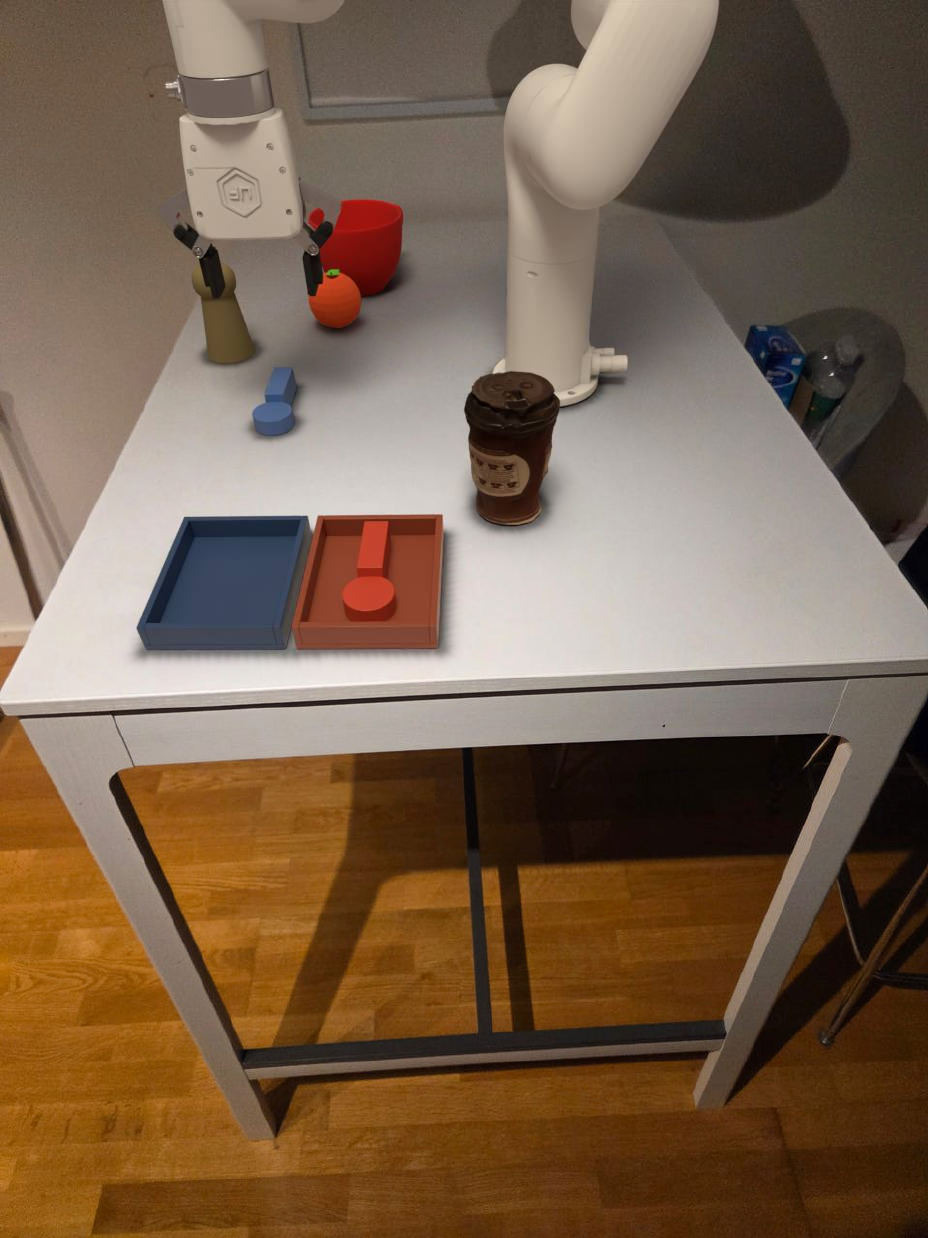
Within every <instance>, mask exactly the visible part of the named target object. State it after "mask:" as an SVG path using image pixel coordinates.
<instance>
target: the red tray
mask: <svg viewBox="0 0 928 1238" xmlns="http://www.w3.org/2000/svg"><path fill="white" fill-rule="evenodd" d="M365 521H388V522H389V530H390V538H391V550H390V558H389V566H388V574H387V580H389V581H390V582H391V583H392V585H393V586H394V589H395V597H396V610H395V613H394V614H393V616H392V617H391V618H390V619H388V620H387V621H385V622H352V621H350V620H349V619H348V618H347V616H346V614H345V611H344V605H343V599H342V592H343V590H344V588H345V586H346V585H347V584H348V583H349V582H351V581H352V580H354V579H356V578H358V573H357V563H358V557H359V551H360V545H361V539H362V533H363V527H364V522H365ZM444 532H445V531H444V515H443V514H442V513H440V514H439V513H437V514H435V513H434V514H431V513H429V514H427V513H425V514H423V513H421V514H417V513H416V514H332V515H331V514H330V515H329V514H328V515H321V514H319V515H317V517H316V521H315V525H314V530H313V534H312V540H311V544H310V548H309V553H308V557H307V561H306V565H305V569H304V574H303V578H302V582H301V586H300V590H299V595H298V599H297V603H296V607H295V611H294V615H293V620H292V624H291V631H292V636H293V639H294V643H295V647H296V650H348V649H349V650H355V649H357V650H361V649H362V650H363V649H364V650H369V649H370V650H371V649H375V650H376V649H380V650H381V649H383V650H384V649H391V650H392V649H397V650H398V649H439V639H440V638H439V636H440V620H441V619H440V616H441V598H442V581H443V580H442V579H443V560H444V559H443V558H444V538H445V533H444Z"/></svg>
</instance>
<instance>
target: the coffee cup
mask: <svg viewBox="0 0 928 1238" xmlns="http://www.w3.org/2000/svg"><path fill="white" fill-rule="evenodd" d="M554 392H555V389H554V387H553V385H552V384H551V383H550V382H549V381H548V380H547V379H546V378H544V377H542V376H540V375H537V374H534V373H530V372H516V371H509V372H505V373H495V374H492V373H487V374H484V375H481V376H479V377H478V378H477V379H475V381H474V383H473V385H472V386H471V390H470V392H469V393H468V394H467V396H466V399H465V403H464V408H463V413H464V415H465V420H466V423H467V425H468V428H469V431H468V436H467V443H468V453H469V459H470V473H471V478H472V482H473V485H474V487H475V488H476V504H475V507H476V510H477V513H478V514H479V515H480V516H481V517H482V518H484V519H486V520H487V521H489V522H492V523H495V524H499V525H506V526H510V525H516V526H517V525H519V526H520V525H522V524H526V523H531V522H533V521H534V520H535V519H536V518H537V517H538V516H539V515H540V513H541V511H542V501H541V500H540V498H539V494H540V493H539V492H540V489H541V487H542V483H543V481H544V478H545V476H546V475H547V474H548V472H549V470H550V469H549V463H550V459H551V456H552V449H553V434H554V428H555V425H556V423H557V419H558V415H559V412H560V407H561V406H560V400H559V398H558V397H557V396H556V395H555V394H554Z"/></svg>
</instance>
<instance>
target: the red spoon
mask: <svg viewBox="0 0 928 1238" xmlns="http://www.w3.org/2000/svg"><path fill="white" fill-rule="evenodd" d="M390 550H391V538H390V530H389V522H388V521H365V522H364V527H363V533H362V539H361V545H360V551H359V557H358V563H357V573H358V578H356V579H354V580H352V581H351V582H349V583H348V584H347V585H346V586H345V588H344V590H343V592H342V599H343V605H344V611H345V614H346V616H347V618H348V619H349V620H350V621H352V622H385V621H387V620H388V619H390V618H391V617H392V616H393V614H394V613H395V610H396V597H395V589H394V586H393V585H392V583H391V582H390V581H389V580H387V574H388V566H389V558H390Z"/></svg>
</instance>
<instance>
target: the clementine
mask: <svg viewBox="0 0 928 1238" xmlns="http://www.w3.org/2000/svg"><path fill="white" fill-rule="evenodd" d="M308 305H309V309H310V311H311V313H312V314H313V316H314V318H315V319H316V320H317V321H318V322H319V323H320V324H322V325H324V326H326V327H329V328H331V329H341V328H346V327H347V326H349V325H351V324H352V323H353V322H354V321H355V320H356V319H357V318H358V315H359V314H360V311H361V308H362V296H361V295H360V291H359V289H358V287H357V285H356V284H355V282H354V281H353V280H352V279H351V278H350V277H348V276H346V275H344V274H342V273H340V272H339V269H332V270H329V271H328V272H327V273H325V272H323V284H319V286H318V290H317V293H316V296H310V295H308Z"/></svg>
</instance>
